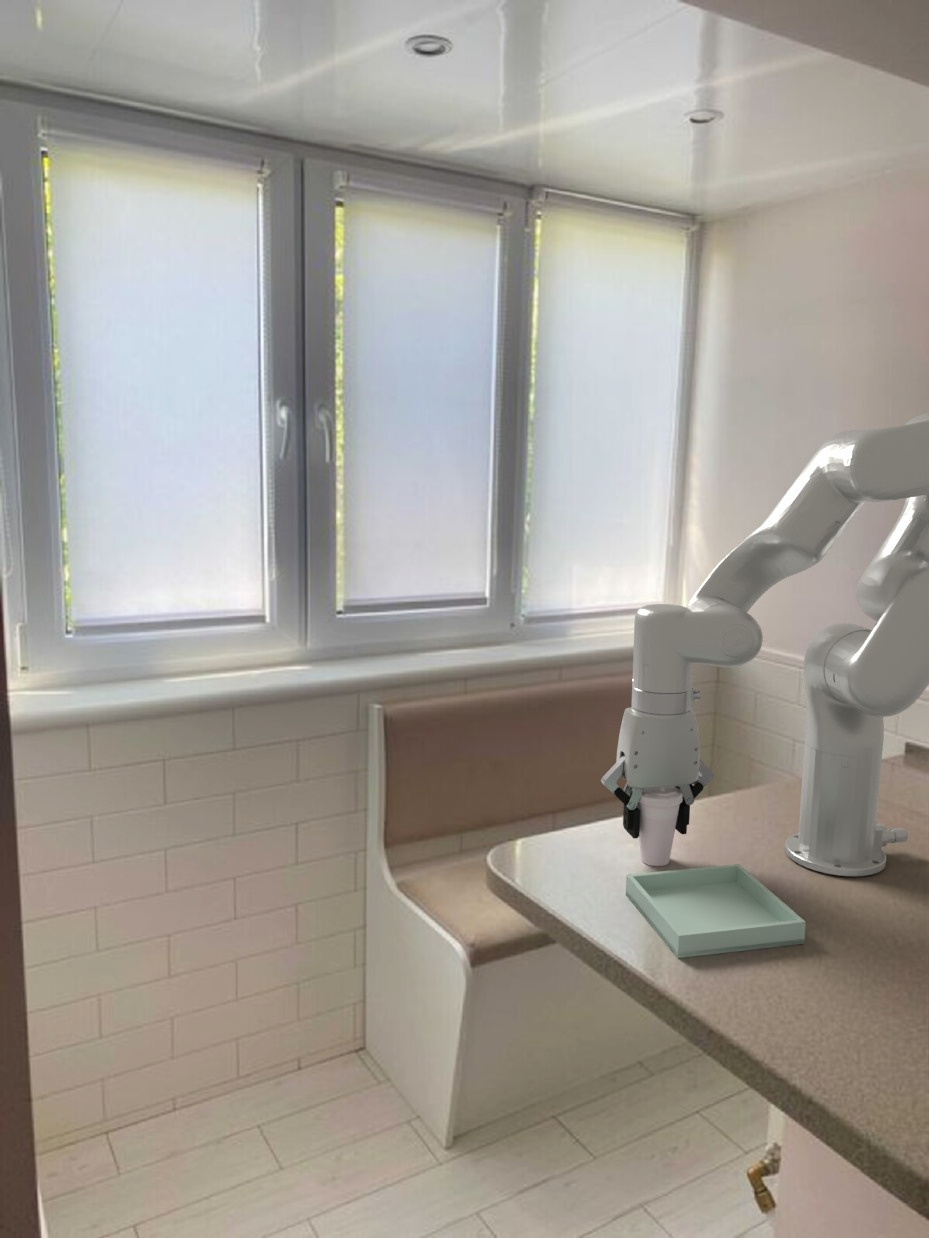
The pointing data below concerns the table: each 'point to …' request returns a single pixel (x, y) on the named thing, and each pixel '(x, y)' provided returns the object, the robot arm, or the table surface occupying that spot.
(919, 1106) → the table surface
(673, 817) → the smoothie
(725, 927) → the tray
